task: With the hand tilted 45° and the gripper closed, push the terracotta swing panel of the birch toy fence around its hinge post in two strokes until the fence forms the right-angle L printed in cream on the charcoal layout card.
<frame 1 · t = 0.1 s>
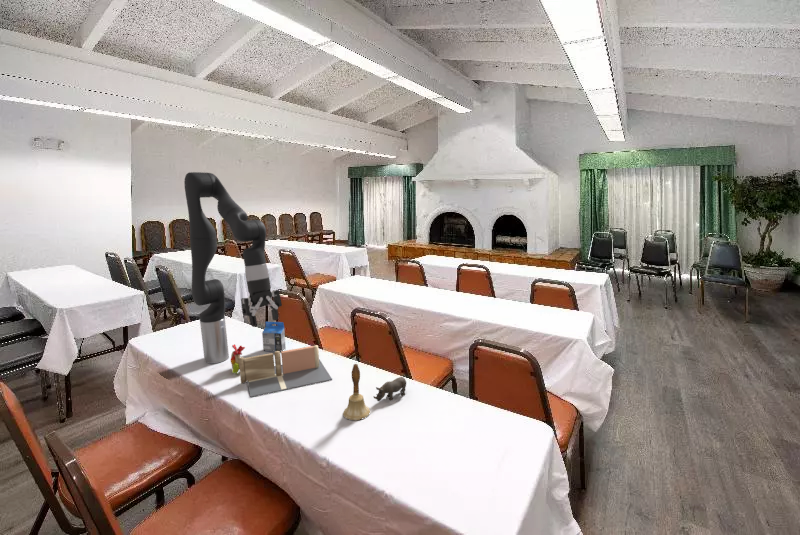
hand: (265, 323, 141), 22 cm above the table, tool pointing down, fingers open, 8 cm apart
rhino figurine: (390, 398, 133), on the table
swing fence panel: (300, 359, 152), point 5 cm above the table, hinge at 0.0°
bird rattle: (237, 371, 155), on the table
label tape box: (274, 350, 175), on the table
layout card: (279, 376, 150), on the table
hand bell: (356, 413, 124), on the table
fence post section: (260, 366, 147), on the layout card
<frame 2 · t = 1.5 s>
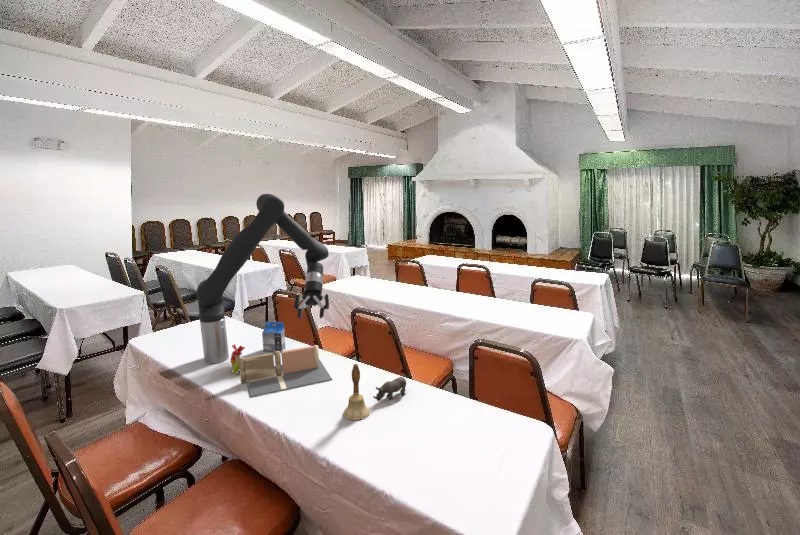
hand: (310, 317, 167), 16 cm above the table, tool tilted 45°, fingers open, 8 cm apart
nothing on the table moved.
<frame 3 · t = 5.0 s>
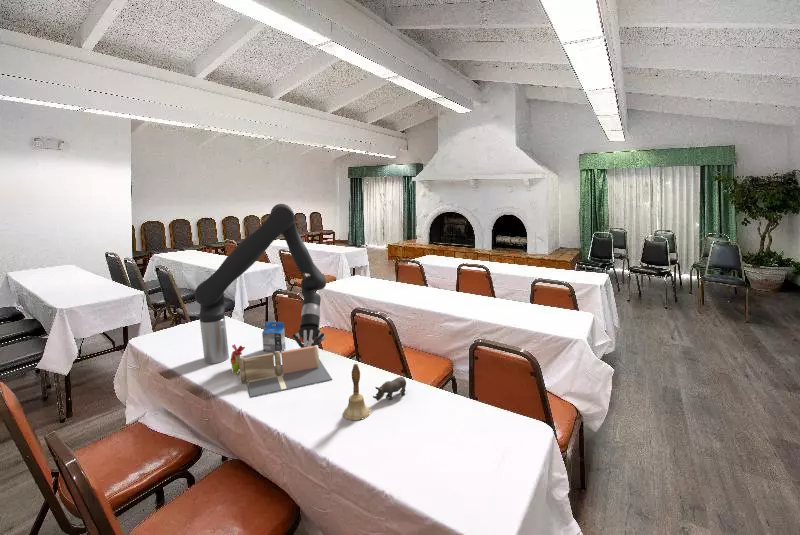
hand: (307, 357, 155), 5 cm above the table, tool tilted 45°, fingers closed
swing fence panel: (300, 359, 152), point 5 cm above the table, hinge at 0.1°, touching gripper
everything else where it was.
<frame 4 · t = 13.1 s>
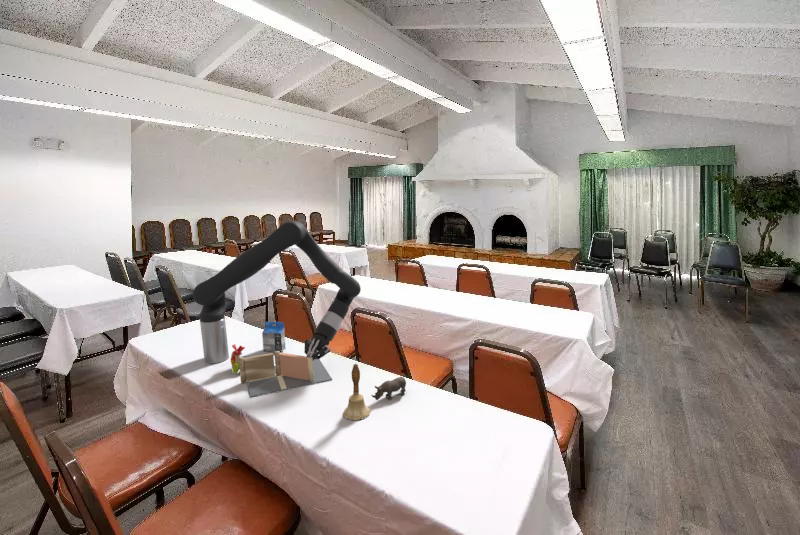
hand: (305, 367, 146), 5 cm above the table, tool tilted 45°, fingers closed
swing fence panel: (296, 366, 146), point 5 cm above the table, hinge at 46.5°, touching gripper
everything else where it was.
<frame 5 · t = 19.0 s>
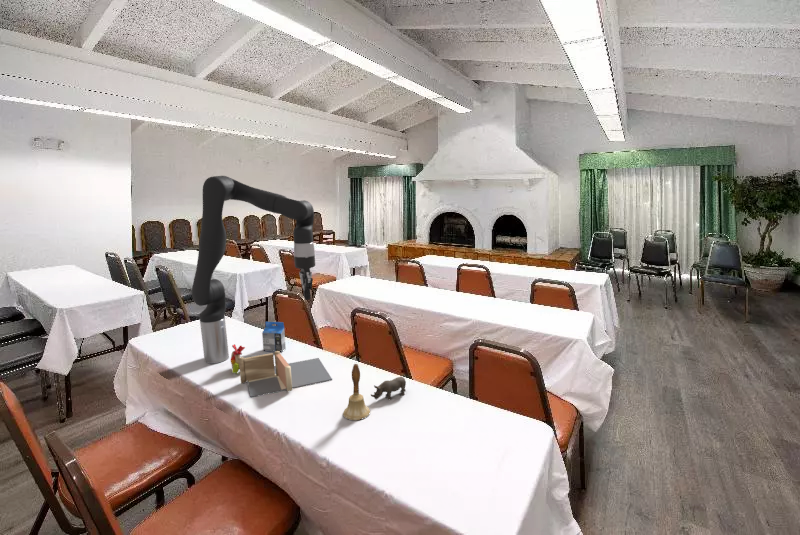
hand: (307, 299, 154), 27 cm above the table, tool pointing down, fingers closed
swing fence panel: (284, 372, 142), point 5 cm above the table, hinge at 84.0°
everything else where it was.
at the end: swing fence panel at +84° (first picture: +0°); bird rattle moved 0.3 cm from its start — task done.
